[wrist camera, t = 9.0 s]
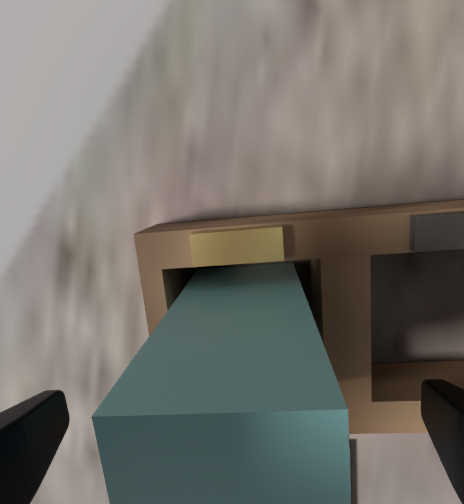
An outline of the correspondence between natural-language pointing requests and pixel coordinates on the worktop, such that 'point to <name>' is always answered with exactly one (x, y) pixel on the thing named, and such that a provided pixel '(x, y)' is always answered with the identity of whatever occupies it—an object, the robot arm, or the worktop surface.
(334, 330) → the socket box
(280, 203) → the worktop surface
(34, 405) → the robot arm
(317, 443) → the plug
